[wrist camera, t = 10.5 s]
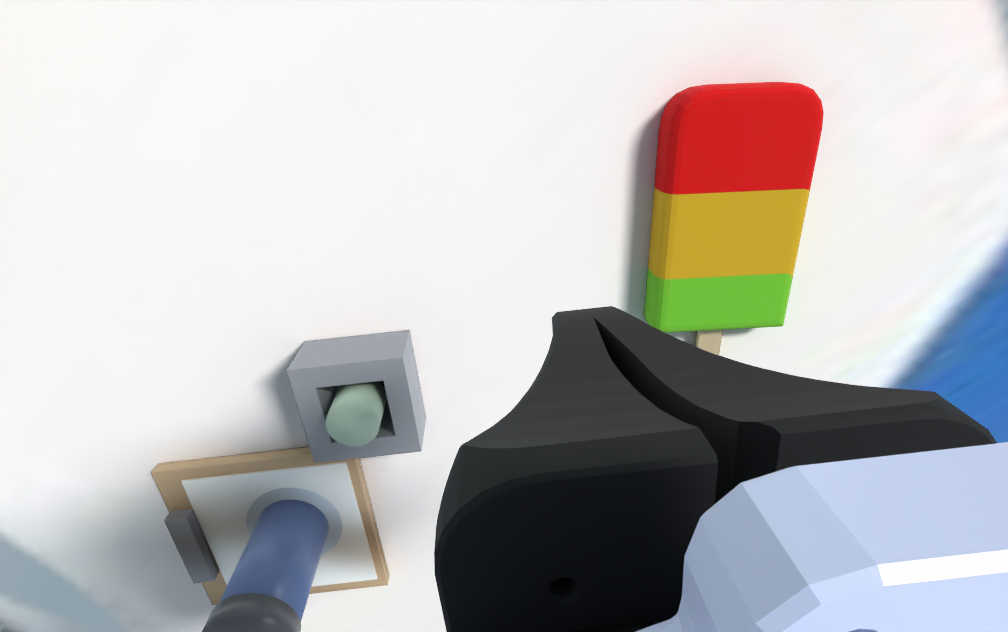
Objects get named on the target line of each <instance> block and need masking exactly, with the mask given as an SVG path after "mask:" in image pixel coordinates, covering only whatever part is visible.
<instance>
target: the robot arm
mask: <svg viewBox="0 0 1008 632" xmlns="http://www.w3.org/2000/svg"><path fill="white" fill-rule="evenodd" d="M552 326H553V338H552V341H551V345H550V349H549V352H548V354H547V356H546V359H545V361H544V364H543V366H542V368H541V370H540V372H539V374H538V376H537V377H536V379H535V381H534V382H533V384H532V386H531V387H530V389H529V390H528V391H527V393H526V394H525V395H524V397H523V398H522V399H521V400H520V402H519V403H518V404H517V405H516V406H515V407H514V409H513V410H512V411H511V412H510V413H509V414H507V415H506V416H505V417H504V418H503V419H501V420H500V421H499V422H498V423H496V424H495V425H494V426H492V427H491V428H489V429H488V430H486V431H484V432H483V433H481V434H479V435H478V436H476V437H475V438H473V439H471V440H470V441H468V442H466V443H464V444H463V445H462V446H461V447H460V448H459V450H458V453H457V455H456V458H455V460H454V463H453V466H452V468H451V471H450V474H449V477H448V480H447V483H446V486H445V489H444V493H443V497H442V501H441V505H440V510H439V514H438V519H437V526H436V539H435V552H434V556H435V577H436V582H437V587H438V592H439V596H440V601H441V606H442V611H443V616H444V620H445V625H446V630H447V632H1008V442H1006V443H997V442H996V441H995V439H994V438H993V436H992V435H991V433H990V432H989V430H988V429H986V428H985V427H983V426H982V425H981V424H979V423H978V422H976V421H975V420H974V419H972V418H971V417H969V416H968V415H967V414H965V413H964V412H962V411H961V410H959V409H958V408H957V407H955V406H954V405H952V404H951V403H950V402H948V401H947V400H945V399H944V398H942V397H941V396H940V395H938V394H937V393H935V392H931V391H918V390H905V389H892V388H879V387H866V386H857V385H849V384H842V383H835V382H828V381H821V380H815V379H809V378H804V377H798V376H793V375H788V374H784V373H780V372H775V371H771V370H767V369H762V368H758V367H755V366H751V365H747V364H744V363H740V362H737V361H734V360H731V359H728V358H725V357H722V356H719V355H716V354H713V353H710V352H708V351H705V350H702V349H700V348H698V347H695V346H693V345H691V344H688V343H686V342H684V341H681V340H679V339H677V338H675V337H673V336H670V335H668V334H666V333H664V332H662V331H660V330H658V329H656V328H654V327H652V326H650V325H648V324H647V323H645V322H643V321H641V320H639V319H637V318H635V317H633V316H631V315H630V314H628V313H626V312H624V311H622V310H620V309H617V308H615V307H612V306H610V307H600V308H591V309H582V310H573V311H564V312H557V313H556V314H555V315H554V316H553V317H552Z"/></svg>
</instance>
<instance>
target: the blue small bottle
mask: <svg viewBox="0 0 1008 632" xmlns="http://www.w3.org/2000/svg"><path fill="white" fill-rule="evenodd" d="M328 530H329V525H328V521H327V519H326V517H325V515H324V514H323V513H322V512H321V511H320V510H319V509H318V508H317V507H315V506H313V505H312V504H309V503H307V502H304V501H300V500H281V501H277V502H275V503H272V504H271V505H269V506H268V507H266V508H265V509H264V510H263V512H262V513H261V515H260V517H259V519H258V521H257V523H256V526H255V528H254V530H253V532H252V534H251V536H250V538H249V540H248V542H247V545H246V547H245V549H244V551H243V553H242V555H241V557H240V559H239V561H238V564H237V566H236V568H235V570H234V572H233V574H232V576H231V578H230V580H229V583H228V585H227V587H226V589H225V591H224V593H223V595H222V597H221V599H220V602H219V603H218V604H217V605H216V606H215V607H214V609H213V610H212V612H211V614H210V616H209V618H208V620H207V623H206V625H205V627H204V629H203V631H202V632H300V631H301V619H302V616H303V612H304V609H305V606H306V602H307V599H308V596H309V593H310V589H311V586H312V583H313V580H314V576H315V573H316V570H317V567H318V563H319V560H320V557H321V554H322V550H323V547H324V544H325V541H326V537H327V534H328Z"/></svg>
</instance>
